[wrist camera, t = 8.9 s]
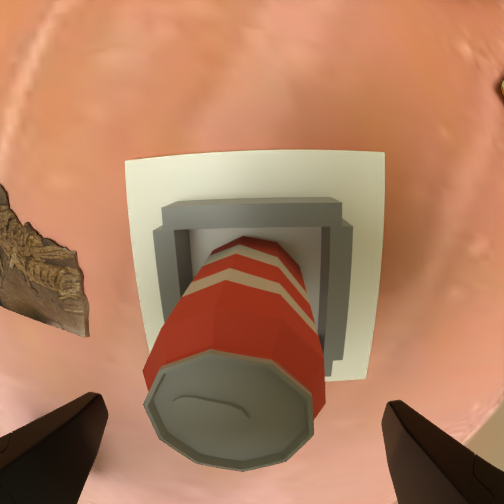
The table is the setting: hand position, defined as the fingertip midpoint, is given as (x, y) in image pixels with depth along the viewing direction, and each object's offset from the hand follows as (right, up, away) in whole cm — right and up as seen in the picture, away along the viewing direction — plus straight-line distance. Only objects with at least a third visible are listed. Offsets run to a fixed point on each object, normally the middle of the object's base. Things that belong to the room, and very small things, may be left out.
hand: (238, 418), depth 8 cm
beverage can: (0, +3, +12) cm, 12 cm away
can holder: (+1, +3, +12) cm, 13 cm away
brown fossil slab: (-23, +6, +14) cm, 28 cm away
